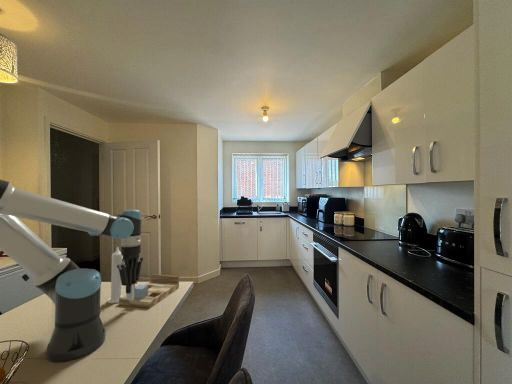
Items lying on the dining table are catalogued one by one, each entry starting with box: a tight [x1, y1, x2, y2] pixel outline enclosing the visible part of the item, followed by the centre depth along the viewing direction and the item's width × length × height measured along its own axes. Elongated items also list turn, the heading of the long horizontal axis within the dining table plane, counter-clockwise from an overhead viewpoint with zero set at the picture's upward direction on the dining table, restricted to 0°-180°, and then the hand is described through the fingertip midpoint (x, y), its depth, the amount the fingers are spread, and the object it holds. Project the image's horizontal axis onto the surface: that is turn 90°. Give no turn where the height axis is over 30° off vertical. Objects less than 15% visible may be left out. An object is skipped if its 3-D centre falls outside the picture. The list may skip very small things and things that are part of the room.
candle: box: [107, 246, 124, 304], centre depth 109 cm, size 7×7×25 cm
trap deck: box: [118, 273, 180, 309], centre depth 114 cm, size 24×16×6 cm, turn 168°
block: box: [134, 284, 148, 299], centre depth 107 cm, size 4×4×4 cm
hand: (130, 299), depth 100 cm, fingers closed
